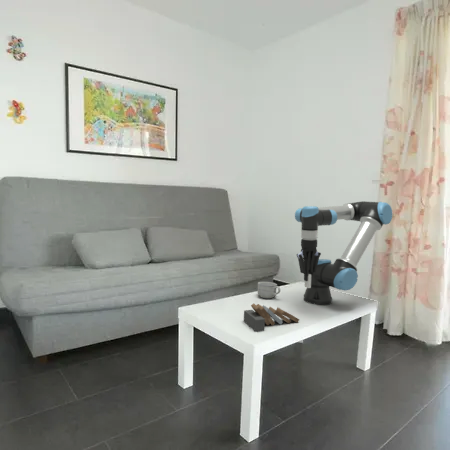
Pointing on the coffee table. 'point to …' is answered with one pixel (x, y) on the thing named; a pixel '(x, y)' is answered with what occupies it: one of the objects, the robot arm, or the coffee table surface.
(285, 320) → the domino
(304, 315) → the coffee table surface
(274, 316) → the domino
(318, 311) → the coffee table surface
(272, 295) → the teacup
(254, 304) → the domino
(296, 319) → the domino
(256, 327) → the block
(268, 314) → the domino
